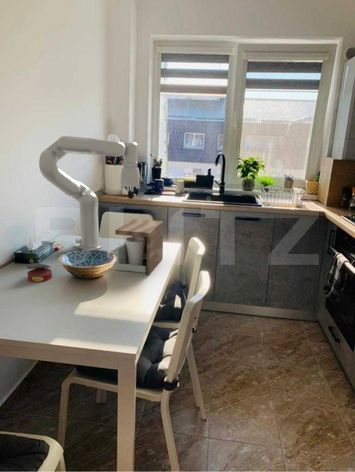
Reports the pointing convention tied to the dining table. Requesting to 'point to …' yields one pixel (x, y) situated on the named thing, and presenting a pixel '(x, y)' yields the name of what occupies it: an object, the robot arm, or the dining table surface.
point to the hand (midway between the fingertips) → (130, 198)
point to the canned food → (39, 272)
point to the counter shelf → (146, 239)
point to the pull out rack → (125, 259)
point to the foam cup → (135, 250)
